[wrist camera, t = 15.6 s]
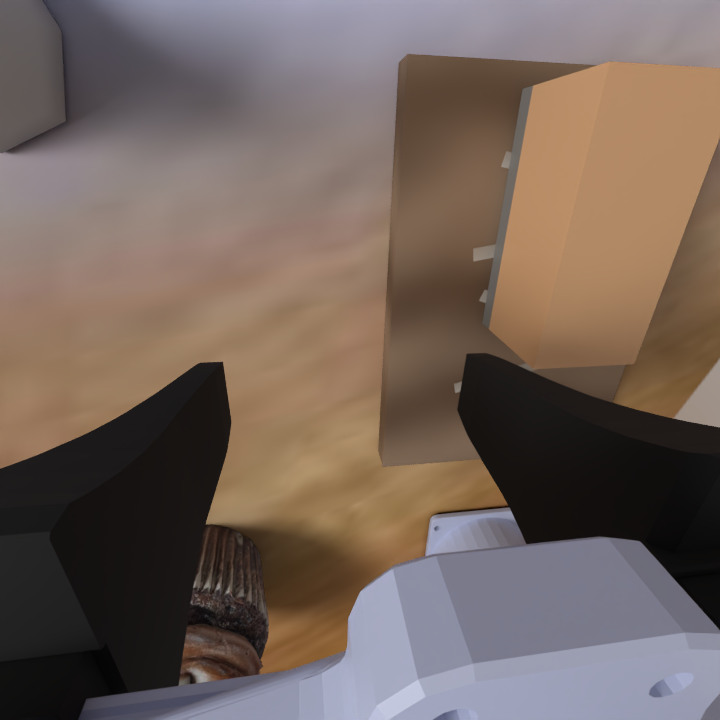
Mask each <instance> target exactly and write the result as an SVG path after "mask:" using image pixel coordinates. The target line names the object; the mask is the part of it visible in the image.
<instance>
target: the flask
mask: <svg viewBox="0 0 720 720" xmlns="http://www.w3.org/2000/svg"><path fill="white" fill-rule="evenodd" d="M64 122H66V115H65V94H64V73H63V52H62V31H61V30H60V28H59V26H58V25H57V23H56V22H55V20H54V18H53V17H52V15H51V13H50V12H49V10H48V8H47V7H46V5H45V4H44V2H43V0H0V153H3V152H5V151H7V150H9V149H11V148H13V147H15V146H17V145H19V144H21V143H23V142H25V141H27V140H29V139H31V138H33V137H35V136H37V135H39V134H41V133H43V132H45V131H48V130H50V129H52V128H54V127H56V126H58V125H60V124H62V123H64Z"/></svg>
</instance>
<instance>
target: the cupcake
mask: <svg viewBox="0 0 720 720" xmlns="http://www.w3.org/2000/svg"><path fill="white" fill-rule="evenodd" d="M268 626H269V623H268V613H267V606H266V601H265V594H264V585H263V574H262V565H261V560H260V554H259V552H258V549H257V548H256V546H255V545H254V544H253V543H252V541H251V540H250V539H249V538H246V537H244V536H243V535H242V534H240V533H239V532H237V531H235V530H233V529H230V528H226V527H221V526H217V525H205V528H204V532H203V536H202V542H201V547H200V552H199V558H198V563H197V569H196V574H195V580H194V586H193V592H192V598H191V604H190V610H189V617H188V623H187V630H186V637H185V644H184V650H183V657H182V664H181V672H180V679H179V686H181V685H188V684H196V683H203V682H210V681H217V680H224V679H231V678H238V677H246V676H253V675H259V674H260V671H259V670H260V669H261V668H262V667H263V666H262V662H261V661H260V659H261V657H262V654H263V651H264V648H265V644H266V642H267V639H268Z"/></svg>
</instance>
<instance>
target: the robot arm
mask: <svg viewBox="0 0 720 720" xmlns="http://www.w3.org/2000/svg"><path fill="white" fill-rule="evenodd" d="M457 411H458V413H459V416H460V418H461V421H462V424H463V426H464V428H465V431H466V433H467V435H468V437H469V439H470V441H471V443H472V444H473V446H474V448H475V449H476V451H477V453H478V455H479V456H480V458H481V460H482V461H483V463H484V465H485V466H486V468H487V469H488V471H489V473H490V474H491V476H492V478H493V479H494V481H495V483H496V484H497V486H498V488H499V489H500V491H501V493H502V494H503V496H504V498H505V500H506V502H507V504H508V505H509V507H508V508H498V509H488V510H478V511H468V512H458V513H447V514H437V515H434V516H433V517H432V518H431V519H430V524H429V531H428V538H427V545H426V552H425V556H424V557H421V558H417V559H413V560H410V561H406V562H403V563H399V564H396V565H394V566H392V567H391V568H390V569H388V570H387V571H385V572H384V573H383V574H381V575H380V576H379V577H377V578H376V579H374V580H373V581H372V582H370V583H369V584H368V585H366V586H365V587H364V588H363V589H362V591H361V592H360V593H359V596H358V598H357V600H356V602H355V605H354V607H353V609H352V611H351V614H350V616H349V618H348V645H347V649H346V651H344V652H341V653H338V654H335V655H332V656H329V657H326V658H323V659H320V660H317V661H314V662H311V663H308V664H305V665H302V666H300V667H297V668H294V669H291V670H288V671H281V672H274V673H267V674H260V675H253V676H246V677H238V678H231V679H224V680H217V681H210V682H203V683H196V684H188V685H181V686H179V679H180V672H181V664H182V657H183V650H184V644H185V637H186V630H187V623H188V617H189V610H190V604H191V598H192V592H193V586H194V580H195V574H196V569H197V563H198V558H199V552H200V547H201V542H202V536H203V532H204V528H205V524H206V520H207V517H208V513H209V510H210V507H211V503H212V500H213V497H214V494H215V490H216V487H217V484H218V480H219V477H220V474H221V470H222V467H223V464H224V460H225V457H226V453H227V449H228V442H229V436H230V428H231V416H230V409H229V402H228V395H227V388H226V381H225V374H224V367H223V362H208V363H199V364H197V365H196V366H194V367H192V368H191V369H190V370H188V371H187V372H185V373H184V374H183V375H181V376H180V377H178V378H177V379H176V380H174V381H173V382H171V383H170V384H169V385H167V386H166V387H164V388H163V389H162V390H160V391H159V392H157V393H156V394H154V395H153V396H151V397H150V398H148V399H147V400H145V401H143V402H142V403H140V404H139V405H137V406H136V407H134V408H132V409H131V410H129V411H128V412H126V413H124V414H123V415H121V416H119V417H117V418H116V419H114V420H112V421H110V422H108V423H106V424H105V425H103V426H101V427H99V428H97V429H95V430H93V431H91V432H89V433H87V434H85V435H83V436H81V437H78V438H76V439H74V440H71V441H69V442H67V443H64V444H62V445H60V446H58V447H55V448H53V449H51V450H48V451H46V452H44V453H41V454H39V455H36V456H34V457H31V458H29V459H26V460H23V461H21V462H18V463H15V464H13V465H10V466H7V467H4V468H1V469H0V720H720V428H718V427H714V426H708V425H702V424H697V423H691V422H686V421H682V420H677V419H672V418H668V417H663V416H659V415H655V414H651V413H647V412H643V411H639V410H635V409H632V408H628V407H625V406H621V405H618V404H615V403H612V402H609V401H605V400H602V399H599V398H596V397H593V396H590V395H587V394H585V393H582V392H579V391H577V390H574V389H572V388H569V387H567V386H564V385H562V384H559V383H557V382H554V381H552V380H550V379H547V378H545V377H543V376H540V375H538V374H536V373H534V372H531V371H529V370H527V369H525V368H523V367H520V366H518V365H516V364H514V363H511V362H509V361H507V360H504V359H502V358H499V357H497V356H494V355H491V354H488V353H470V354H466V360H465V366H464V372H463V378H462V384H461V390H460V396H459V402H458V408H457Z"/></svg>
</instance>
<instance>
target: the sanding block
mask: <svg viewBox="0 0 720 720" xmlns="http://www.w3.org/2000/svg"><path fill="white" fill-rule="evenodd" d="M719 138H720V68H705V67H690V66H674V65H658V64H642V63H626V62H607V63H604V64H600V65H597V66H594V67H591V68H588V69H585V70H581V71H578V72H575V73H572V74H569V75H565V76H562V77H559V78H556V79H553V80H550V81H546V82H543V83H540V84H537V85H534V86H530V87H527V88H524V89H522V95H521V101H520V107H519V113H518V118H517V124H516V130H515V136H514V142H513V147H512V153H511V159H510V165H509V171H508V176H507V182H506V188H505V194H504V200H503V205H502V211H501V217H500V223H499V229H498V234H497V240H496V246H495V252H494V258H493V264H492V269H491V275H490V281H489V287H488V293H487V298H486V304H485V310H484V316H483V322H482V324H483V325H484V326H486V327H487V328H488V329H489V330H490V331H491V332H492V333H493V334H495V335H496V336H497V337H498V338H499V339H500V340H501V341H502V342H503V343H505V344H506V345H507V346H508V347H509V348H510V349H511V350H512V351H514V352H515V353H516V354H517V355H518V356H519V357H520V358H521V359H522V360H524V361H525V362H526V363H527V364H528V365H529V366H530V367H531V368H533V369H549V368H569V367H589V366H610V365H630V364H635V361H636V358H637V356H638V353H639V350H640V348H641V345H642V342H643V340H644V337H645V334H646V332H647V329H648V327H649V324H650V321H651V319H652V316H653V313H654V311H655V308H656V305H657V303H658V300H659V297H660V295H661V292H662V289H663V287H664V284H665V281H666V279H667V276H668V274H669V271H670V268H671V266H672V263H673V260H674V258H675V255H676V252H677V250H678V247H679V244H680V242H681V239H682V236H683V234H684V231H685V228H686V226H687V223H688V221H689V218H690V215H691V213H692V210H693V207H694V205H695V202H696V199H697V197H698V194H699V191H700V189H701V186H702V183H703V181H704V178H705V175H706V173H707V170H708V168H709V165H710V162H711V160H712V157H713V154H714V152H715V149H716V146H717V144H718V141H719Z"/></svg>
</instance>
